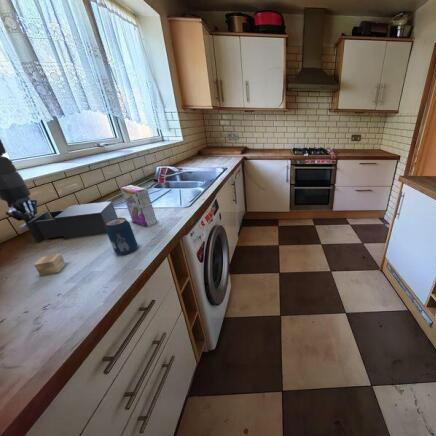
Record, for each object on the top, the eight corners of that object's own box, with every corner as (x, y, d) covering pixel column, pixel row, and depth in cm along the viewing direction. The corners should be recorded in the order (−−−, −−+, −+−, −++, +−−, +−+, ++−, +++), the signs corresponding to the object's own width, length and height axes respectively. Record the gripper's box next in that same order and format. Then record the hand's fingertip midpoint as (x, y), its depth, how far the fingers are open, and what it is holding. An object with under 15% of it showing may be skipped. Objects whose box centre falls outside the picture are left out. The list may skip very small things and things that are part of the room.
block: (40, 276, 70) (33, 264, 68) (49, 267, 74) (42, 256, 72) (59, 273, 71) (52, 261, 69) (66, 264, 75) (60, 253, 73)
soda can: (131, 243, 86) (120, 215, 81) (142, 248, 83) (132, 219, 78) (111, 253, 81) (98, 223, 75) (122, 258, 78) (110, 227, 72)
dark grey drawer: (20, 243, 85) (8, 225, 82) (39, 229, 95) (29, 212, 91) (79, 235, 90) (70, 217, 87) (91, 222, 100) (83, 206, 96)
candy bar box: (131, 222, 102) (119, 187, 95) (142, 218, 106) (131, 184, 99) (147, 227, 97) (135, 191, 90) (158, 223, 101) (147, 188, 94)
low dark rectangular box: (65, 239, 89) (53, 218, 85) (80, 225, 100) (70, 205, 95) (109, 233, 93) (100, 212, 89) (119, 220, 104) (111, 201, 99)
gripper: (9, 180, 86) (32, 221, 94) (-20, 192, 75) (9, 237, 82) (34, 179, 88) (55, 218, 96) (9, 189, 77) (35, 233, 84)
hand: (34, 227), depth 89 cm, fingers closed
